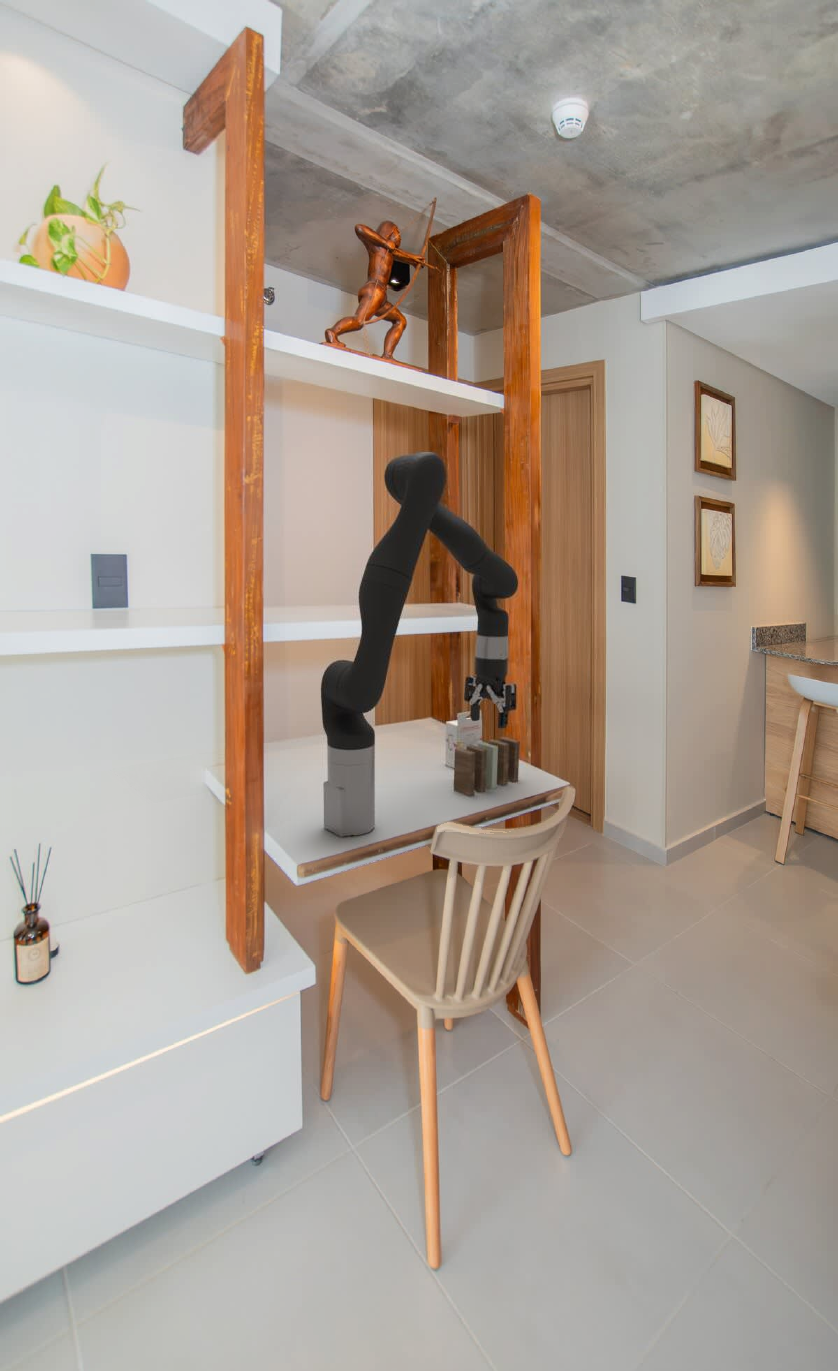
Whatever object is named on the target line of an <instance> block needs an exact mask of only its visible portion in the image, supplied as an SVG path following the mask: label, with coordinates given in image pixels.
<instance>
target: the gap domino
mask: <svg viewBox="0 0 838 1371" xmlns="http://www.w3.org/2000/svg"><path fill="white" fill-rule="evenodd" d="M478 747H480V748H483V749H487V765H486V788H488V789H491V790H494V789H496V788H497V786H498V784H497V761H498V746H494V745H491V744H489V742H488V743H487V742H483V741H482V742H480V743H478Z"/></svg>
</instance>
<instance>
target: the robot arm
mask: <svg viewBox="0 0 838 1371" xmlns="http://www.w3.org/2000/svg"><path fill="white" fill-rule="evenodd" d="M383 476H384V477H383V478H384V485H385V488H386V490H387V492H388V493H389V494H390V496H391V497H392V498H393V500H395V501H396V502H397V503H398V504H399V505H400V509H399V511H398V514H397V516H396V518H395V520H394V522H393V523H392V525H391V526H390V527H389V529H388V530H387V531H386V532H385V534H384V535H383V537H382V538H381V539H380V541H379V542H378V543H377V544H376V546H375V547H374V549H373V550H372V552H371V553H370V555H369V557H368V559H367V563H366V565H365V569H364V572H363V574H362V577H361V581H360V584H359V590H358V606H359V614H360V616H359V617H360V621H361V622H360V623H361V634H360V639H359V643H358V646H357V650H356V653H355V656H354V659H353V661H352V660H347V659H339V660H336V661H332V663H330V664H329V665H328V666H326V669H325V671H324V672H323V675H322V678H321V684H320V701H321V702H320V704H321V716H322V717H321V719H322V728H323V731H324V733H325V735H326V743H327V744H326V746H327V747H326V749H327V752H326V753H327V755H326V756H327V757H326V758H327V781H324V782H323V784H322V785H323V787H322V788H323V828H324V829H326V830H328V831H330V832H332V833H333V834H335V835H336V836H338V837H340V838H343V837H351V835H354V836H360V835H365V834H368V833H371V830H372V829H373V828H374V829H375V827H374V826H376V822H375V821H376V815H375V814H376V802H375V801H376V782H375V781H376V779H375V778H376V775H375V774H376V771H375V770H376V765H375V764H376V760H375V759H376V756H375V755H376V746H375V745H376V742H375V741H376V737H375V736H376V734H375V732H376V731H375V730H374V728H373V726H372V725H371V724H370V723H369V722H368V720H367V719H366V717H365V716H364V714H365V713H368V712H370V711H372V710H373V709H374V708H375V707H376V706H377V705H378V704H379V702H380V700H381V698H382V696H383V693H384V688H385V685H386V680H387V675H388V672H389V671H388V670H389V666H390V660H391V655H392V650H393V647H394V646H393V645H394V641H395V638H396V635H397V632H398V627H399V624H400V621H401V620H400V619H401V616H402V613H403V610H404V606H405V603H406V601H407V598H408V595H409V591H410V588H411V585H412V581H413V579H414V574H415V570H416V568H417V564H418V561H419V558H420V554H421V551H422V548H423V546H424V542H425V539H426V536H427V533H428V532H430V533H431V534H433V535H434V536H435V537H436V538H437V540H438V541H440V543H442V545H443V546H444V547H445V548H446V549H447V550H448V552H449V553H450V554H451V555H452V557H453V558H454V559H455V560H456V561H457V563H458V564H459V565H460V567H461V568H462V569H463V570H464V571H466V572H467V573H468V574H471V575H473V577H472V580H471V591H472V597H473V600H474V606H475V611H476V615H477V630H476V632H477V633H476V641H475V649H474V651H475V652H474V671H473V672H474V675H469V676H466V677H465V682H464V684H465V685H464V694H463V695H464V696H463V700H464V702H467V703H468V704H469V705H470V710H469V711H471V712H470V715H469V718H471V720H472V721H478V720H479V719H480V710H481V705H480V704H481V702H483V701H482V700H484V699H487V700H489V701H492V702H493V704H494V705H495V706H496V707H497V709H498V711H499V712H498V713H497V714H498V716H497V718H498V719H497V728H498V729H500V730H501V729H505V728H507V727H508V724H509V713H510V712H511V711H516V710H517V684H516V683H512V684H511V683H509V684H508V683H506V678H507V676H508V668H509V667H508V665H509V650H510V649H509V624H510V623H509V621H510V620H509V618H510V616H509V613H508V611H506V610H505V609H502V608H500V607H499V605H498V602H497V599H499V600H500V599H501V600H505V599H509V598H512V597H513V596H514V595H515V594H516V592H517V591H518V588H519V580H518V579H519V578H518V575H517V573H516V571H515V569H514V568H513V566H511V565H510V564H509V563H508V562H507V561H506V560H505V559H503V558H502V557H501V556H499V555H498V554H497V553H496V552H494V551H492V549H490V548H489V545H487V543H486V542H485V541H484V540H483V538H482V536H481V535H480V534H479V533H478V531H477V530H476V529H475V528H474V527H473V526H472V525H471V524H469V523H468V522H467V521H465V520H464V519H463V518H462V517H460V516H458V515H457V514H455V513H454V512H453V511H451V510H450V509H449V508H447V507H446V506H445V505H444V504H442V502H440V501H441V498H442V497H443V495H444V491H445V487H446V483H447V482H446V481H447V468H446V465H445V463H444V460H443V459H442V457H441V456H440V455H439V454H437V453H435V452H430V451H420V452H414V453H410V454H404V455H399V456H397V457H395V458H393V459H391V460H390V461H389V463H388V464H387V465H386V468H385V470H384V475H383ZM374 829H373V830H374ZM373 830H372V831H373Z"/></svg>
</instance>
